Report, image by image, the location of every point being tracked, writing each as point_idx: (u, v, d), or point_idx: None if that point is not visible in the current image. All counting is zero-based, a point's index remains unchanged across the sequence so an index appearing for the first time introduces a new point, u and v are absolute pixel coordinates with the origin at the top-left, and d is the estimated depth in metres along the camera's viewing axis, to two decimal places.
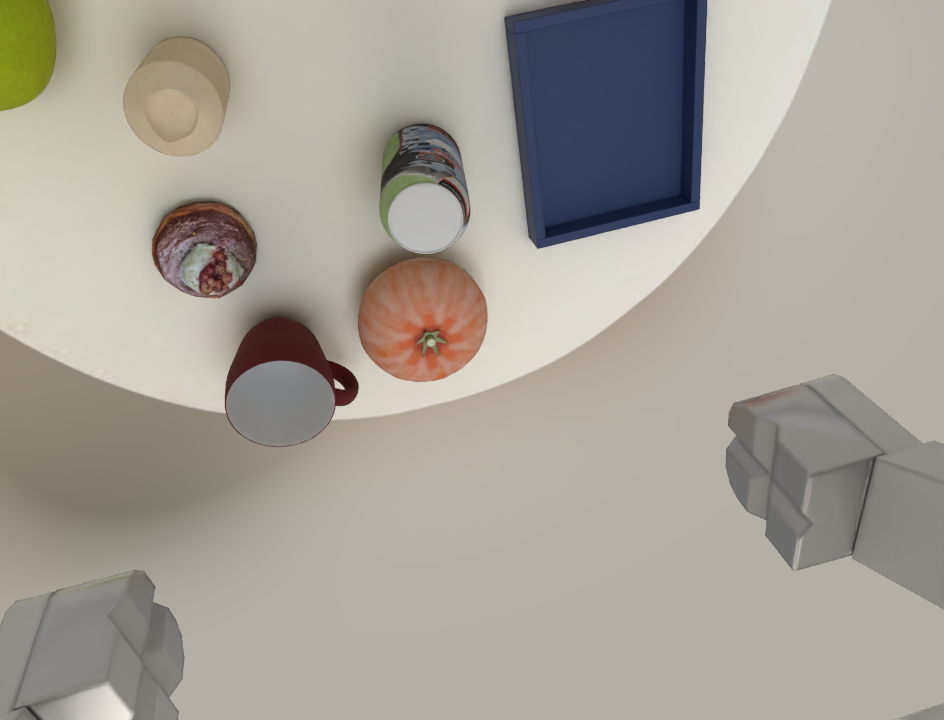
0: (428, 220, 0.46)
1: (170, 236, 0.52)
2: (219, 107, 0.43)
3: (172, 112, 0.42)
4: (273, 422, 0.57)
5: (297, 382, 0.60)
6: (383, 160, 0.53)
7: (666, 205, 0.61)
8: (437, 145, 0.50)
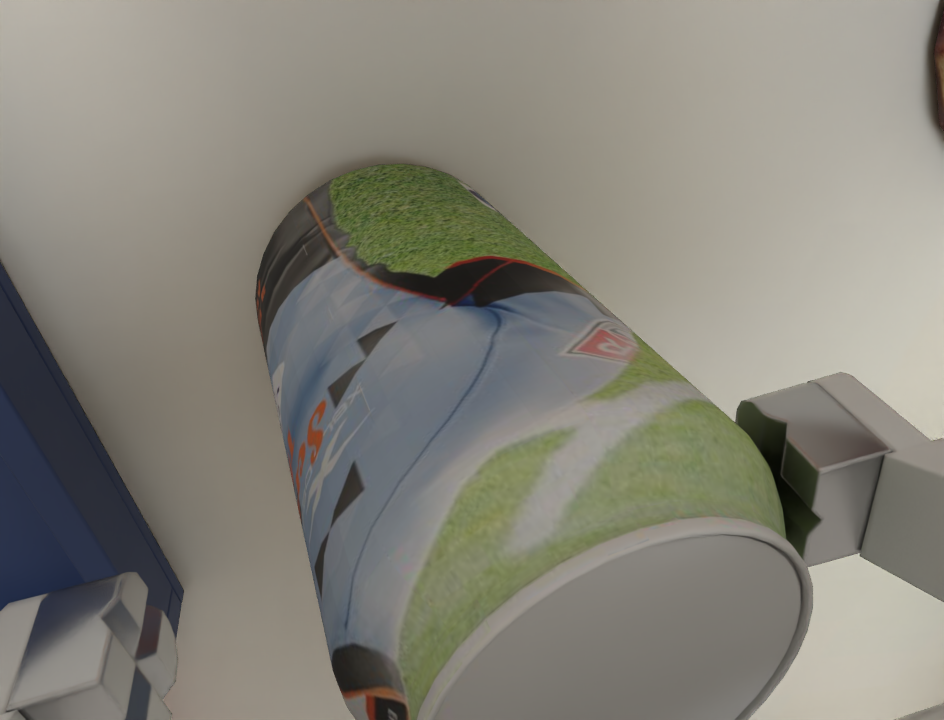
0: (611, 688, 0.08)
1: None
2: None
3: None
4: None
5: None
6: None
7: None
8: None
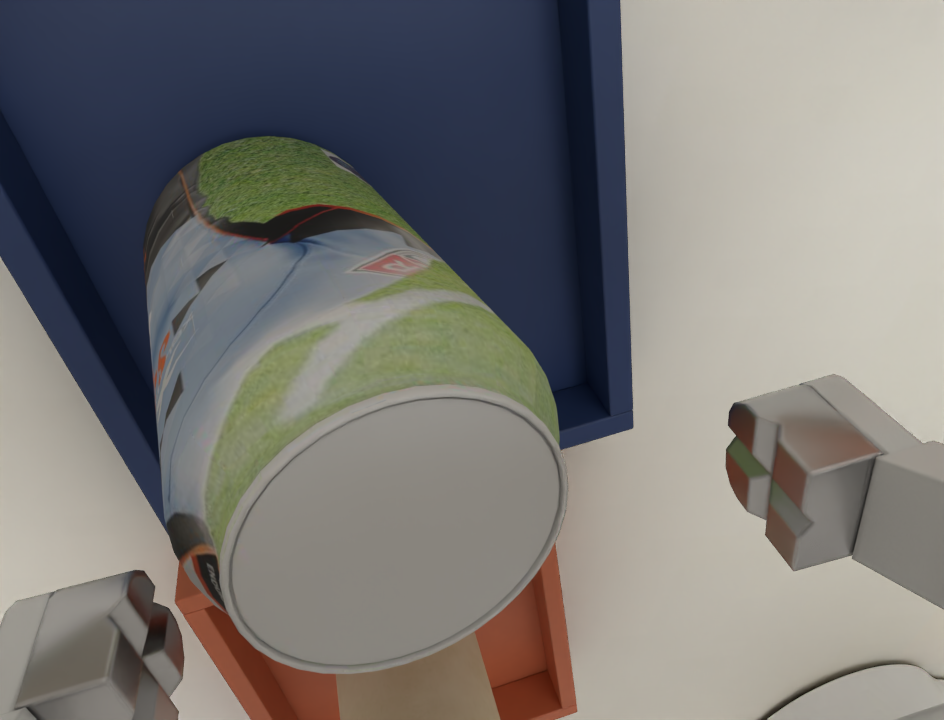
0: (395, 538, 0.10)
1: None
2: None
3: None
4: None
5: None
6: None
7: None
8: None
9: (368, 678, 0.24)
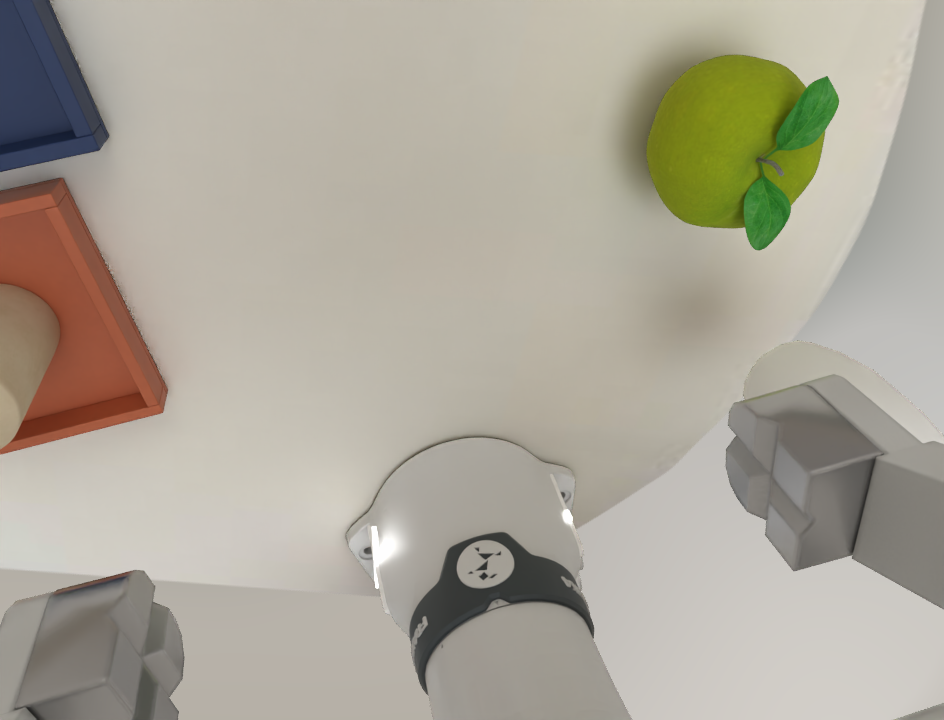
0: None
1: None
2: None
3: None
4: None
5: None
6: None
7: None
8: None
9: None
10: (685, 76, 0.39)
